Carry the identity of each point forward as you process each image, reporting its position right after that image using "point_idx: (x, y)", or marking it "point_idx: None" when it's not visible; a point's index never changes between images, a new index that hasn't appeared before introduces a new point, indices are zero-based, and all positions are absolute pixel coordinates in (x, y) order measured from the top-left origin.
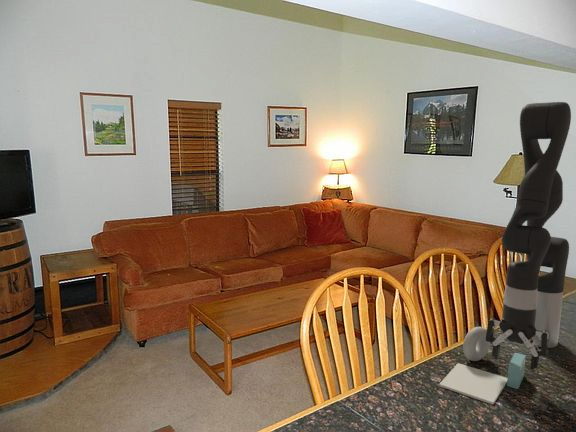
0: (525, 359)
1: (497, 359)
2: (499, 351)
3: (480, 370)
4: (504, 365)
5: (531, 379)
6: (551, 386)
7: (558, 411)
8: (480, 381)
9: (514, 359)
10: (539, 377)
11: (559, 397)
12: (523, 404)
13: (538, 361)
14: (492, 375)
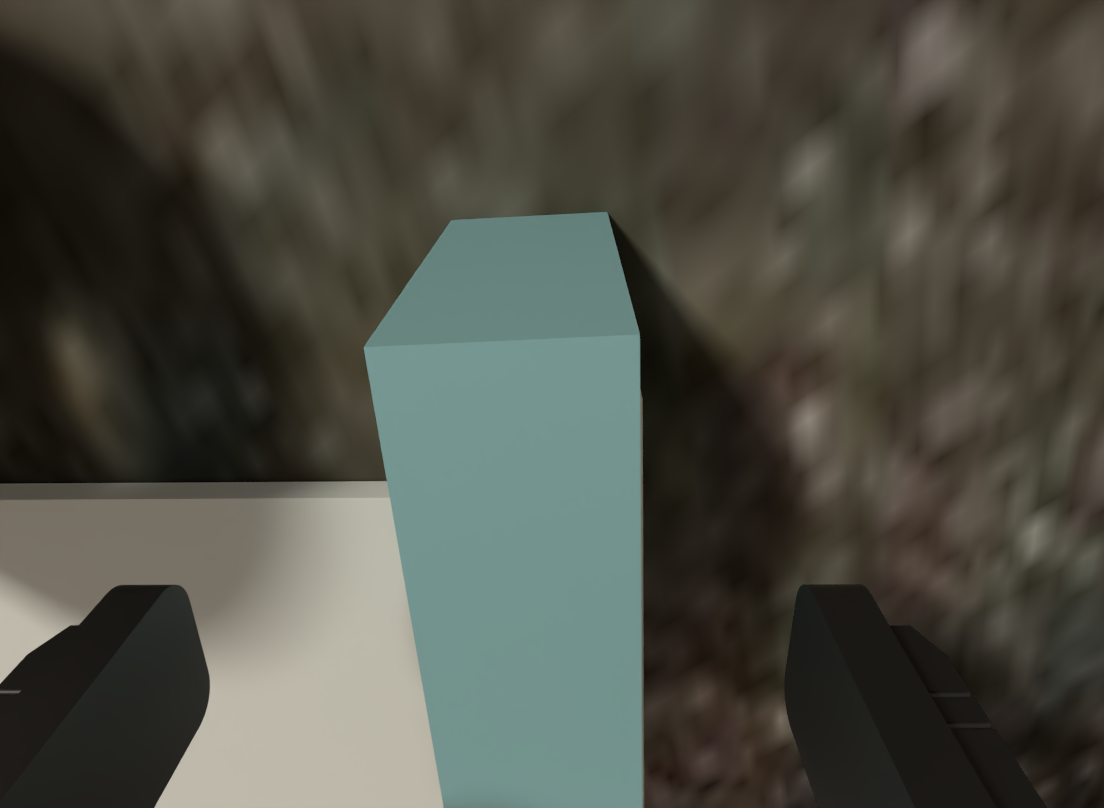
0: (629, 301)
1: (204, 676)
2: (106, 697)
3: (104, 512)
4: (242, 21)
5: (720, 249)
6: (994, 280)
7: (1019, 746)
8: (249, 730)
9: (477, 691)
10: (826, 90)
11: (1066, 500)
12: (714, 803)
13: (988, 742)
14: (279, 544)
